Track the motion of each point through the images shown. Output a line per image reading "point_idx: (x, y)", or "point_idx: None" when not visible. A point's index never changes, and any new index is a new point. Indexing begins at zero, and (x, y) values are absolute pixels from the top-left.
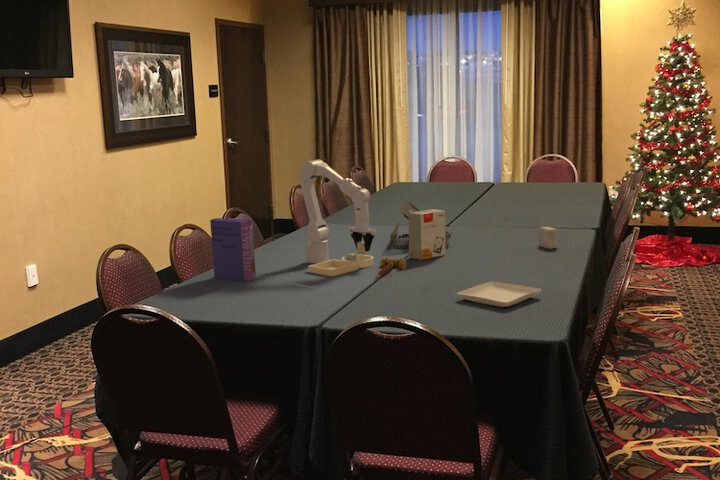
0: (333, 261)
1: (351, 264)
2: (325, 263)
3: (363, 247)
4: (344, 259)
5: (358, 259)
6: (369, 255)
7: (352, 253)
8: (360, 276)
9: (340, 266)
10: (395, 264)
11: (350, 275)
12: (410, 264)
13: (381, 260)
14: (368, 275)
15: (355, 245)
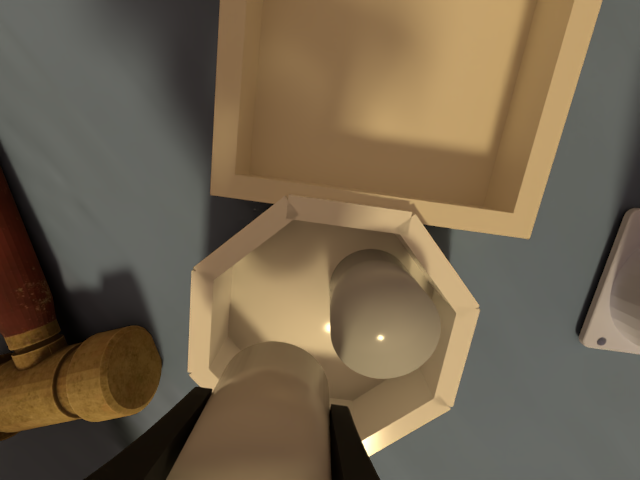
0: (507, 204)
1: (231, 119)
2: (539, 91)
3: (205, 411)
4: (448, 304)
5: (380, 398)
6: None
7: (396, 371)
8: (85, 26)
9: (412, 196)
10: (12, 362)
11: (179, 15)
12: (62, 471)
13: (98, 358)
14: (57, 90)
15: (362, 447)
